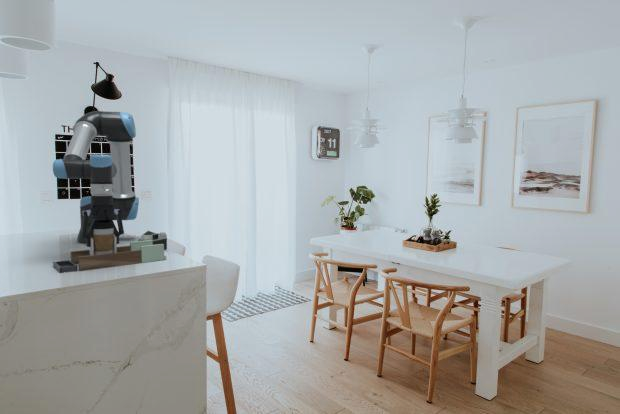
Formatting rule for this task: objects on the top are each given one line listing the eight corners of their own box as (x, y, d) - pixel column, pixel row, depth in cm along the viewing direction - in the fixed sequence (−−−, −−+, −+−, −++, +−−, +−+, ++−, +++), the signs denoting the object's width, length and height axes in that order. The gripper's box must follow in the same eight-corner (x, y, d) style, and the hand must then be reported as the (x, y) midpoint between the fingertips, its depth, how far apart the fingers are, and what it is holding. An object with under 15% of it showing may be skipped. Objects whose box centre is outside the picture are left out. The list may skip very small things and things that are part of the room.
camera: (155, 248, 192) (154, 227, 192) (170, 249, 190) (170, 228, 189) (130, 254, 178) (129, 231, 177) (146, 256, 175) (145, 233, 174)
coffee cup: (111, 256, 164) (110, 219, 163) (118, 259, 158) (118, 221, 157) (88, 258, 158) (87, 220, 157) (95, 262, 152) (94, 222, 151)
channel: (71, 264, 157) (70, 251, 156) (130, 257, 171) (130, 245, 171) (79, 270, 147) (79, 257, 146) (141, 262, 161) (141, 250, 161)
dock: (130, 257, 171) (129, 242, 171) (154, 254, 178) (153, 239, 178) (141, 262, 161) (141, 246, 161) (166, 259, 168) (166, 244, 168)
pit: (53, 266, 152) (53, 262, 152) (69, 264, 156) (69, 260, 156) (60, 273, 143) (59, 267, 143) (77, 270, 147) (77, 265, 147)
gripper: (74, 196, 147) (76, 258, 148) (132, 194, 160) (133, 252, 162) (69, 195, 152) (71, 255, 154) (126, 194, 166) (127, 249, 168)
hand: (103, 253), depth 158 cm, fingers closed on coffee cup, 7 cm apart
